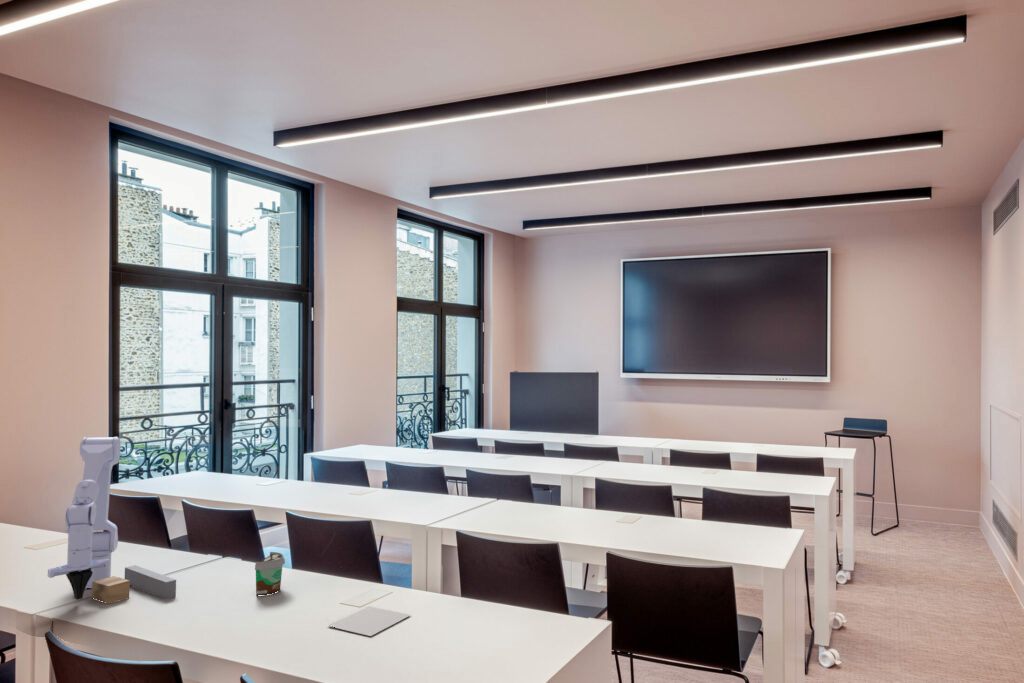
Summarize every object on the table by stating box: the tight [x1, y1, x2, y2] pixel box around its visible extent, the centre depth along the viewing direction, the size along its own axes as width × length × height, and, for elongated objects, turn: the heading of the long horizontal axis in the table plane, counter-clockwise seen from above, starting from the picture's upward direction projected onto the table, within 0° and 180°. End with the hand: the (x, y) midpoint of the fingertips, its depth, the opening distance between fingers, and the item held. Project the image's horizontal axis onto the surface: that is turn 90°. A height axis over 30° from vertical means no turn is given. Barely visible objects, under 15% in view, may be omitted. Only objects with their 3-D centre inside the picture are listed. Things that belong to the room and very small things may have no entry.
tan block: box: [91, 575, 131, 604], centre depth 197 cm, size 8×6×5 cm
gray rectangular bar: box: [124, 564, 177, 600], centre depth 205 cm, size 24×3×5 cm, turn 54°
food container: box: [254, 551, 286, 596], centre depth 205 cm, size 12×6×10 cm, turn 179°
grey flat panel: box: [329, 605, 411, 637], centre depth 187 cm, size 23×25×1 cm
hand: (78, 598), depth 191 cm, fingers closed
